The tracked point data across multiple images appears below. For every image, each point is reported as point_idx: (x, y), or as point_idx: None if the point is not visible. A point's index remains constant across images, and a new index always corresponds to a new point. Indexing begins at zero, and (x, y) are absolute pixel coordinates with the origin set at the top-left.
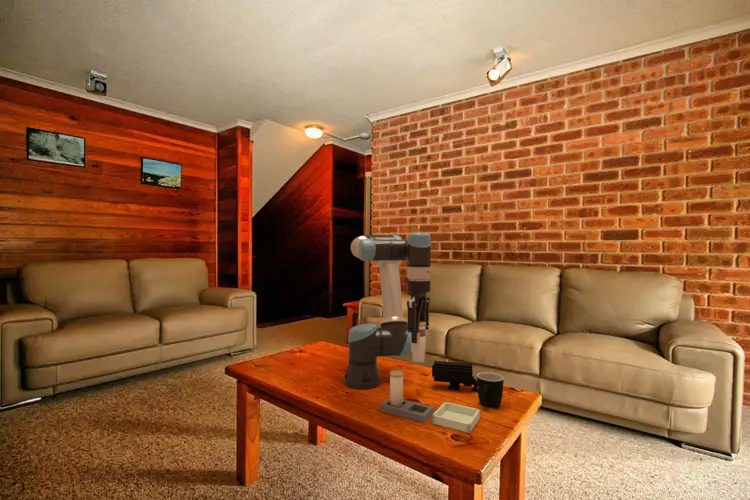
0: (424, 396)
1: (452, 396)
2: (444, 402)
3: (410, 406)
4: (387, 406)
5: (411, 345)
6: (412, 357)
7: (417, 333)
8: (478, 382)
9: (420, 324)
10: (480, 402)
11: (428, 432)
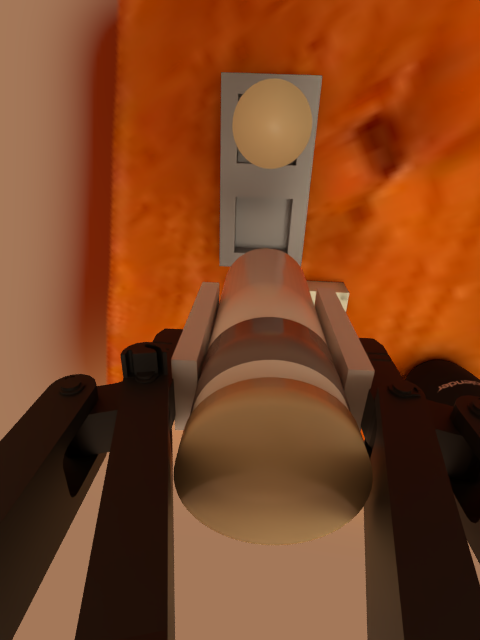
0: (440, 178)
1: (470, 272)
2: (341, 293)
3: (268, 194)
4: (223, 110)
5: (194, 306)
6: (231, 270)
7: (176, 416)
8: (445, 403)
9: (198, 507)
10: (420, 367)
11: (186, 282)
